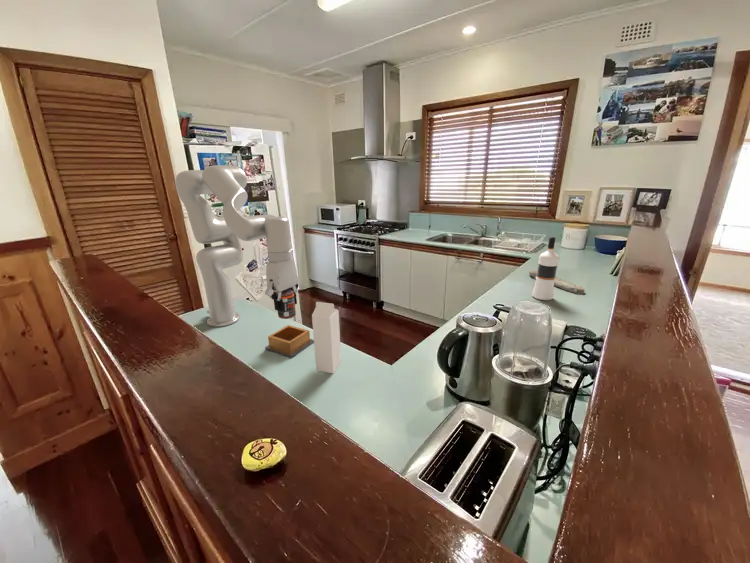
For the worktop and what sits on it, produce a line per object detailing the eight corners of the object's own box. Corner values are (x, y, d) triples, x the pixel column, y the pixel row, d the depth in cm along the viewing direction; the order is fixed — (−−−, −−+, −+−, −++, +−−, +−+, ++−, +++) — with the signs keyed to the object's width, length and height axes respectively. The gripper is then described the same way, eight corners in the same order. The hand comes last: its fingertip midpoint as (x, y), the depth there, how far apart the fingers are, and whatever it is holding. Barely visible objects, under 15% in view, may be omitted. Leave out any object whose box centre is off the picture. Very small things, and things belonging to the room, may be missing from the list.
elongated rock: (573, 298, 157) (588, 297, 160) (576, 288, 155) (591, 287, 158) (523, 275, 188) (536, 274, 191) (525, 266, 186) (538, 266, 189)
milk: (324, 360, 103) (320, 298, 96) (341, 363, 101) (338, 300, 94) (315, 370, 97) (310, 305, 90) (333, 374, 95) (329, 307, 89)
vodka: (528, 294, 158) (537, 235, 148) (546, 294, 158) (556, 235, 148) (537, 301, 149) (548, 239, 140) (556, 300, 149) (568, 238, 140)
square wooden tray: (265, 349, 109) (263, 337, 108) (289, 335, 119) (288, 323, 118) (291, 358, 104) (289, 345, 102) (314, 342, 114) (313, 330, 112)
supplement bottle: (291, 320, 104) (287, 288, 101) (275, 319, 106) (271, 287, 102) (298, 313, 110) (295, 282, 106) (283, 311, 111) (279, 281, 107)
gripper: (290, 249, 110) (295, 297, 116) (250, 260, 95) (258, 314, 101) (306, 251, 106) (311, 300, 112) (268, 263, 92) (275, 318, 98)
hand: (286, 306), depth 107 cm, fingers closed on supplement bottle, 5 cm apart
